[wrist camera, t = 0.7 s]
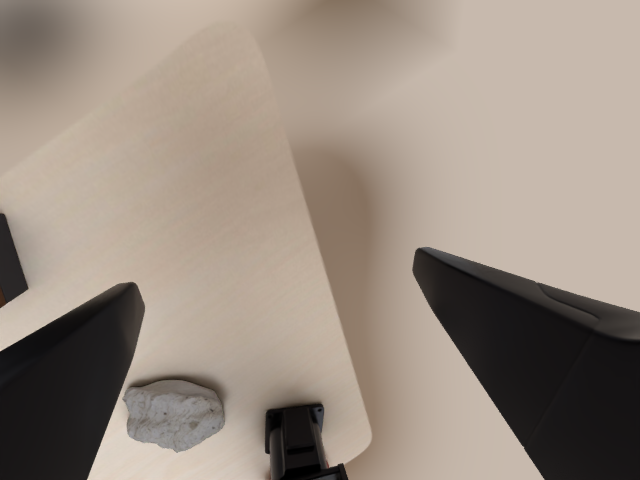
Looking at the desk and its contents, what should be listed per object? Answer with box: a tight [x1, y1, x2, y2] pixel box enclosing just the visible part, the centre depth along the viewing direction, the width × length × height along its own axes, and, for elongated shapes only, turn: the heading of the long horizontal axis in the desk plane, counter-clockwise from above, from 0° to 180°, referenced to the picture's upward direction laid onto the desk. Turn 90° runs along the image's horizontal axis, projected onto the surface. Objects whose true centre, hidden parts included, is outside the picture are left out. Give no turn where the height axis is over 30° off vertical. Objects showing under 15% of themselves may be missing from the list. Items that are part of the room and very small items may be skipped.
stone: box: [123, 380, 225, 453], centre depth 27 cm, size 10×5×10 cm
